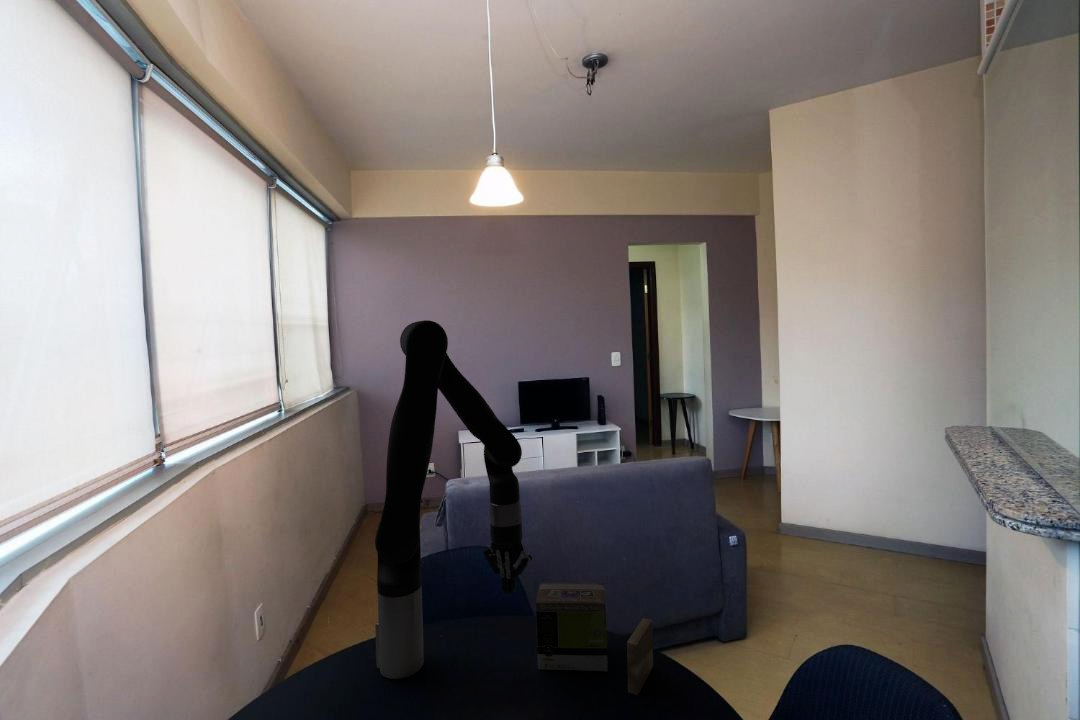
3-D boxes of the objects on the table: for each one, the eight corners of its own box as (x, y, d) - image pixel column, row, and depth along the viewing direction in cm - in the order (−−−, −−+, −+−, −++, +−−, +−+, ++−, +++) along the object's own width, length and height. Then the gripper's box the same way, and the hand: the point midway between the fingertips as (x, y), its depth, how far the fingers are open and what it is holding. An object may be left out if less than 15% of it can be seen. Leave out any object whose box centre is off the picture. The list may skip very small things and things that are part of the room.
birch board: (627, 692, 99) (626, 642, 98) (644, 664, 107) (643, 618, 107) (637, 695, 98) (636, 644, 97) (653, 666, 106) (652, 620, 106)
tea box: (606, 645, 114) (605, 581, 114) (608, 673, 104) (606, 603, 104) (541, 643, 116) (539, 580, 116) (536, 671, 106) (535, 602, 106)
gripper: (473, 520, 118) (476, 593, 119) (520, 529, 111) (524, 605, 112) (492, 511, 125) (495, 580, 125) (537, 518, 118) (540, 591, 118)
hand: (508, 592), depth 118 cm, fingers closed
